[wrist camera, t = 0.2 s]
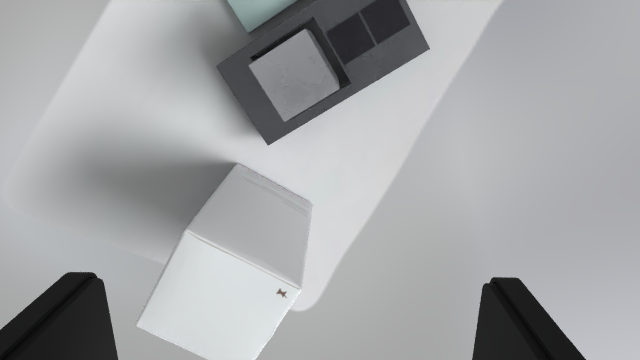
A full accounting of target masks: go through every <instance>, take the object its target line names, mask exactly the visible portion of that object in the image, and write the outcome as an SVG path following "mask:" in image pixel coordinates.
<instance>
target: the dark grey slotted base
mask: <svg viewBox="0 0 640 360" xmlns="http://www.w3.org/2000/svg"><path fill="white" fill-rule="evenodd" d="M313 18H315V20H316V22H317V24H318V25H319V27H320V29H321V31H322V32H323V34H324V36H325V38H326V40H327V41H328V43H329V45H330V47H331V48H332V50H333V52H334V54H335V55H336V57H337V59H338V61H339V62H340V64H341V66H342V68H343V70H344V71H345V73H346V75H347V77H348V78H349V80H350V81H349V82H347V83H345V84H344V85H342V86H340V89H339V90H337V91H335V92H334V93H332V94H330V95H329V96H327V97H325V98H324V99H322V100H320V101H319V102H317V103H315V104H314V105H312V106H310V107H309V108H307V109H306V110H304V111H302V112H301V113H299V114H297V115H296V116H294V117H292V118H291V119H289V120H287V121H286V122H284V121H283V119H282V118H281V116H280V115H279V113H278V111H277V110H276V108H275V107H274V105H273V104H272V102H271V100H270V99H269V97H268V96H267V94H266V93H265V91H264V89H263V88H262V86H261V85H260V83H259V81H258V80H257V78H256V77H255V75H254V74H253V72H252V70H251V69H250V67H249V66H248V65H250V64H251V63H253V62H254V61H256V60H257V58H256V56H257V55H258V54H260V53H261V52H263V51H264V50H266V49H267V48H269V47H270V46H272V45H273V44H275V43H276V42H278V41H280V40H281V39H283V38H284V37H286V36H287V35H289V34H290V33H292V32H293V31H295V30H296V29H298V28H299V27H301V26H302V25H304V24H306V23H307V22H309V21H310V20H312V19H313ZM429 49H430V48H429V46H428V44H427V42H426V40H425V38H424V36H423V34H422V32H421V30H420V28H419V26H418V24H417V22H416V20H415V18H414V16H413V14H412V12H411V10H410V8H409V6H408V4H407V2H406V0H315V1H314V2H312V3H311V4H309V5H308V6H306V7H305V8H303V9H302V10H300V11H299V12H297V13H296V14H294V15H293V16H291V17H290V18H288V19H287V20H285V21H284V22H282V23H281V24H279V25H278V26H276V27H275V28H273V29H272V30H270V31H269V32H267V33H266V34H264V35H263V36H261V37H260V38H258V39H257V40H255V41H253V42H252V43H250V44H249V45H247V46H246V47H244V48H243V49H241V50H240V51H238V52H237V53H235V54H234V55H232V56H231V57H229V58H228V59H226V60H225V61H223V62H222V63H220V64H219V65H217V66H216V67H217V69H218V70H219V72H220V73H221V75H222V76H223V78H224V80H225V81H226V83H227V84H228V86H229V87H230V89H231V90H232V92H233V93H234V95H235V96H236V98H237V99H238V101H239V102H240V104H241V105H242V107H243V108H244V110H245V111H246V113H247V114H248V116H249V117H250V119H251V121H252V122H253V124H254V125H255V127H256V128H257V130H258V131H259V133H260V134H261V136H262V137H263V139H264V140H265V142H266V143H267V145H270V144H272V143H273V142H275V141H277V140H278V139H280V138H282V137H283V136H285V135H287V134H288V133H290V132H292V131H293V130H295V129H297V128H298V127H300V126H302V125H303V124H305V123H307V122H308V121H310V120H312V119H313V118H315V117H317V116H318V115H320V114H322V113H323V112H325V111H327V110H328V109H330V108H332V107H333V106H335V105H337V104H338V103H340V102H342V101H343V100H345V99H347V98H348V97H350V96H352V95H353V94H355V93H357V92H359V91H360V90H362V89H364V88H365V87H367V86H369V85H370V84H372V83H374V82H375V81H377V80H379V79H380V78H382V77H384V76H385V75H387V74H389V73H390V72H392V71H394V70H395V69H397V68H399V67H400V66H402V65H404V64H405V63H407V62H409V61H410V60H412V59H414V58H415V57H417V56H419V55H420V54H422V53H424V52H425V51H427V50H429Z"/></svg>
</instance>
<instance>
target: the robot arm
mask: <svg viewBox="0 0 640 360" xmlns="http://www.w3.org/2000/svg"><path fill="white" fill-rule="evenodd" d="M0 360H118V356H117V350H116V345H115V340H114V334H113V329H112V324H111V319H110V313H109V308H108V303H107V297H106V292H105V287H104V283H103V281H102V280H101V279H100V278H97V276H96V274H94V273H92V272H70V273H67V274H65V275H63V276H62V277H61V278H60V279H59V280H58V281H57V282H55V283H54V284H53V285H52V286H51V287H50V288H48V289H47V290H46V291H45V292H44V293H43V294H41V295H40V296H39V297H38V298H37V299H36V300H34V301H33V302H32V303H31V304H30V305H29V306H27V307H26V308H25V309H24V310H23V311H22V312H20V313H19V314H18V315H17V316H16V317H15V318H14V319H12V320H11V321H10V322H9V323H8V324H7V325H5V326H4V327H3V328H2V329H1V330H0ZM472 360H586V359H585V358H584V357H583V356H582V354H581V353H580V352H579V351H578V350H577V348H576V347H575V346H574V345H573V343H572V342H571V341H570V340H569V339H568V338H567V337H566V335H565V334H564V333H563V332H562V330H561V329H560V328H559V327H558V325H557V324H556V323H555V322H554V321H553V319H552V318H551V317H550V316H549V314H548V313H547V312H546V311H545V310H544V308H543V307H542V306H541V305H540V304H539V302H538V301H537V300H536V299H535V297H534V296H533V295H532V294H531V292H530V291H529V290H528V289H527V287H526V286H525V285H524V284H523V283H522V282H521V280H520V279H518V278H502V277H500V278H499V277H493V278H492V279H491V281H490V283H485V284H484V285H483V288H482V295H481V302H480V309H479V316H478V323H477V330H476V337H475V344H474V351H473V358H472Z"/></svg>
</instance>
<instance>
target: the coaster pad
mask: <svg viewBox="0 0 640 360" xmlns="http://www.w3.org/2000/svg"><path fill="white" fill-rule="evenodd" d="M227 1H228V2H229V4H230V6H231V7H232V9H233V10H234V12H235V14H236V15H237V17H238V18H239V20H240V22H241V23H242V25H243V26H244V28H245V30H246V31H247V33H250V32H252V31H253V30H255V29H256V28H258V27H259V26H261V25H262V24H264V23H265V22H267V21H268V20H270V19H271V18H273V17H274V16H276V15H277V14H279V13H280V12H282V11H283V10H285V9H286V8H287V7H289V6H290V5H292V4H293V3H295V2H296V1H298V0H227Z"/></svg>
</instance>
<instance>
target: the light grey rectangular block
mask: <svg viewBox="0 0 640 360" xmlns="http://www.w3.org/2000/svg"><path fill="white" fill-rule="evenodd" d="M248 66H249V67H250V69H251V70H252V72H253V74H254V75H255V77H256V78H257V80H258V81H259V83H260V85H261V86H262V88H263V89H264V91H265V93H266V94H267V96H268V97H269V99H270V100H271V102H272V104H273V105H274V107H275V108H276V110H277V111H278V113H279V115H280V116H281V118H282V119H283V121H284V122H286V121H287V120H289V119H291V118H292V117H294V116H296V115H297V114H299V113H301V112H302V111H304V110H306V109H307V108H309V107H310V106H312V105H314V104H315V103H317V102H319V101H320V100H322V99H324V98H325V97H327V96H329V95H330V94H332V93H334V92H335V91H337V90H339V89H340V87H339V81H338V76H337V75H336V73H335V71H334V69H333V68H332V66H331V64H330V63H329V61H328V59H327V57H326V56H325V54H324V52H323V50H322V49H321V47H320V45H319V43H318V42H317V40H316V38H315V36H314V35H313V33H312V31H310V30H307V29H304V30H302V31H301V32H299V33H298V34H296V35H294V36H293V37H291V38H290V39H288V40H287V41H285V42H284V43H282V44H281V45H279V46H278V47H276V48H274V49H273V50H271V51H270V52H268V53H267V54H265V55H264V56H262V57H261V58H259V59H258V60H256V61H254V62H253V63H251V64H250V65H248Z"/></svg>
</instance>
